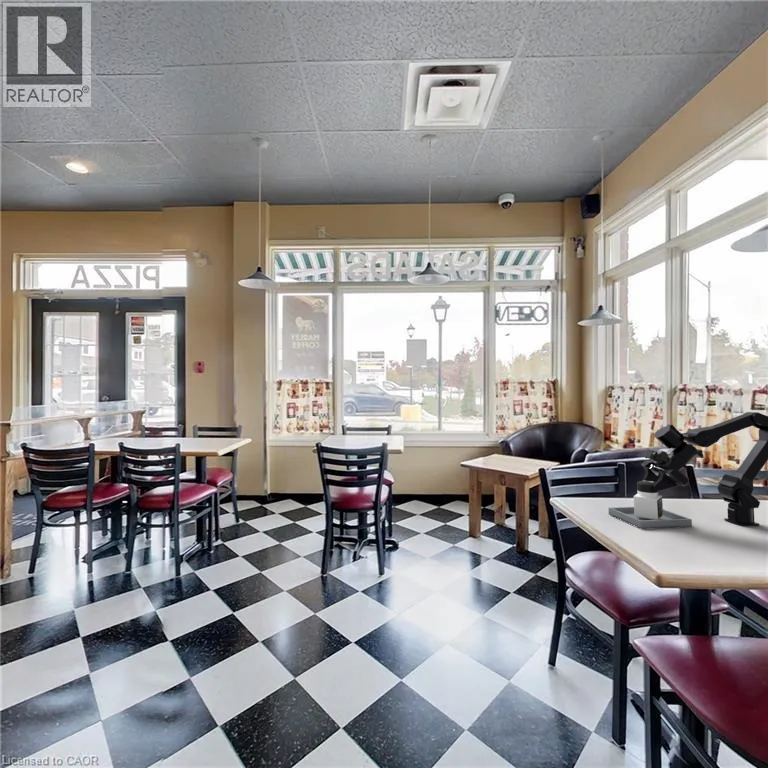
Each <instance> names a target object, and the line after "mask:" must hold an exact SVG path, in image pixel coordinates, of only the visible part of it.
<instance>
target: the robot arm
mask: <svg viewBox="0 0 768 768" xmlns="http://www.w3.org/2000/svg"><path fill="white" fill-rule="evenodd" d="M750 427H753V428H756V429H758V440H757V441H756V443H755V444H754V446H752V448H751V450H750V451H749V452H748V454H747V456H745V459H743V461H742V463H741V464H740V466H739V467H738V468H737V469H736V471H735V472H734V473H732V474H728V473H725V474H723V476H722V477H721V479H720V481H718V482H717V484H718V486H717V491H718V493H719V495H720V496H722V500H723V502H727V518H725V517H724V521H726V522H730V523H732V524H736V525H738V524H739V526H741V525H743V527H744V525H751V526H760V523H759V522H756V521H755V509H759V507H760V505H761V501H760V500H758V499H757V498H756V496H754V495H752V494H753V491H754V480H755V479H756V478H757V476H758V474H759V473H760V472H761V470H762V469H763V467H764V466H765V465H766V463H767V461H768V415H765V414H763V413H760V412H758V411H757V412H756V411H754V412H753V411H747V412H744V413H742V414H741V415H740V414H739V415H737V416H734V417H732V418H730V419H726V420H724V421H722V422H719V423H716V424H713V425H711V426H703V427H702V426H701V427H697V428H692V429H689V430H687V431H686V432H680V431H679V430H678V429H677V428H676V427H675V426H674V425H673V424H672V423H671V424H670V423H669V424H667V425H666V426H663V427H661V428H660V429H657V430H656V431H655V432H654V435H653V436H654V438H655V439H656V440H658V441H659V442H660V443H661V444H662V445H663V446H664V447H665V448H666V449H672V451H670V452H669V453H668V452H666V451H665V450H661V449H660V450H658V451H656V450H653V449H649V448H648V449H647V450H646V451H645V454H644V456H643V457H644V458H645V459H648V460H644V461H643V462H642V463H641V466H642V467H643V469H644V470H645V471H644V472H645V474H644V477H643V480H642V481H651V482H655V484H654V486H653V487H652V488H651V490H650V491H651V492H652V493H654V492H657V491H658V492H661V491H663V490H667V489H670V488H674V487H679V486H681V487H686V486H688V485H689V481H690V479H689V477H688V476H686V475H685V474H684V472H682V471H681V470H682V469H684V470H686V469H688V465H687V464H688V463H690V461H692V459H694V457H696V458H700V459H703V458H705V457H704V453H703V449H698V448H697V447H702V448H709V447H711V446H712V445H714V444H716V443H718V442H719V440H721V438H723V437H726V436H729V435H732V434H734V433H736V432H740V431H741V430H744V429H748V428H750ZM650 460H651V461H650Z"/></svg>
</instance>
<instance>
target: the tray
mask: <svg viewBox="0 0 768 768" xmlns="http://www.w3.org/2000/svg"><path fill="white" fill-rule="evenodd" d="M609 514H610V516H611V515H612V517H613V516H614V517H613V518H615V517H617V518H616V519H618V518H619V519H618V520H620V519H621V521H622V520H623V521H622V522H624V521H626V522H628V523H627V524H629V523H630V524H629V525H631V524H632V525H631V526H633V525H635V526H637V527H639V528H638V529H640V528H655V529H674V528H675V529H677V527H680V528H692V527H693V522H692V521H693V520H692V519H691V518H688V517H686V516H683V515H681V514H678V513H675V512H672V511H669V510H666V509H663V516H662V517H661V518H660V519H659V520H654V519H648V518H642V517H637V516H635V515H634V506H619V507H608V515H609ZM626 522H625V523H626ZM635 526H634V527H635ZM637 527H636V528H637Z"/></svg>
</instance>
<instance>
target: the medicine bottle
mask: <svg viewBox="0 0 768 768" xmlns="http://www.w3.org/2000/svg"><path fill="white" fill-rule="evenodd" d="M655 483H656V482H651V481H643V480H639V481H637V482H636V491H637V493H636V494H635V495H633V507H634V515H635V516H637V517H642V518H648V519H654V520H659V519H660V518H661V517H662V516H663V508H664V507H663V505H664V504H663V495H660V494H659V491H657V492H654V493H652V492H651V491H650V490H651V488H652V487H653V486H654V484H655Z"/></svg>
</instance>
